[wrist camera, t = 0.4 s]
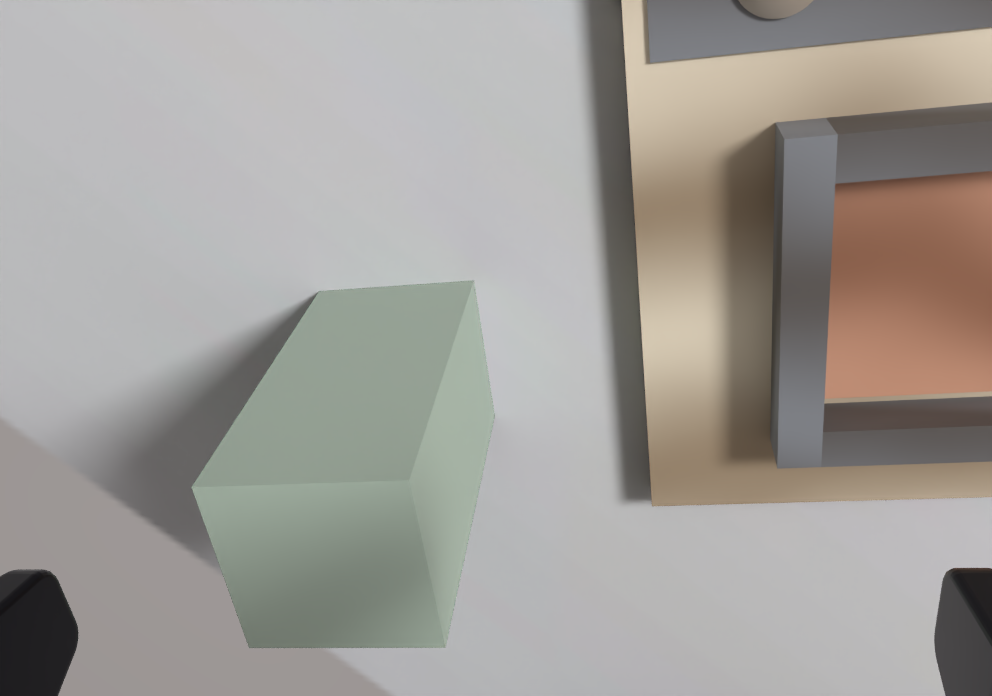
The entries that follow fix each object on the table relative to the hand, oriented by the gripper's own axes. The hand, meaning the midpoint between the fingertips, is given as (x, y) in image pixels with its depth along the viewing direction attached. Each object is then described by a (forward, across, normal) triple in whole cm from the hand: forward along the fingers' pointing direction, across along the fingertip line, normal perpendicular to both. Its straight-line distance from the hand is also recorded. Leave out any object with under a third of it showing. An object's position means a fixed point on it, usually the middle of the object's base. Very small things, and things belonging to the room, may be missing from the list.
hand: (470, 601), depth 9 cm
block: (+14, +4, +4) cm, 15 cm away
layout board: (+14, -8, +1) cm, 16 cm away
